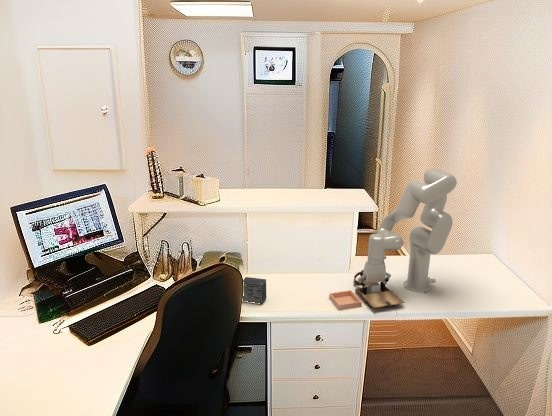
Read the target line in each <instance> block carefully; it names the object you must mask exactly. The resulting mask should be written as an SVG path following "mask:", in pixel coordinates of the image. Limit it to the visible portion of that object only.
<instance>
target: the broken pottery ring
mask: <svg viewBox="0 0 552 416" xmlns="http://www.w3.org/2000/svg"><path fill="white" fill-rule="evenodd" d="M363 271H364V269H362V270H361V271H358V272H357V273H356V274H354V277H353V278H354V279H353V285H354V286H357V287H362V285H361V284H360V283H359V281H358V279H357V277H361V276H362V275H363ZM359 275H360V276H359ZM363 281H364V280H362V282H363Z"/></svg>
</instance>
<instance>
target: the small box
mask: <svg viewBox="0 0 552 416" xmlns="http://www.w3.org/2000/svg"><path fill="white" fill-rule="evenodd" d="M242 281H243V282H244V296H243V301H248V302H255V303H260V304H259V305H261V304H263V303H264V304H265V302H266V301H267V299H268V298H267V278H266V279H265V278H259V277H251V276H250V277H249V276H246V277H244V278H243V280H242ZM266 298H267V299H266ZM264 304H263V305H264Z"/></svg>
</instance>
